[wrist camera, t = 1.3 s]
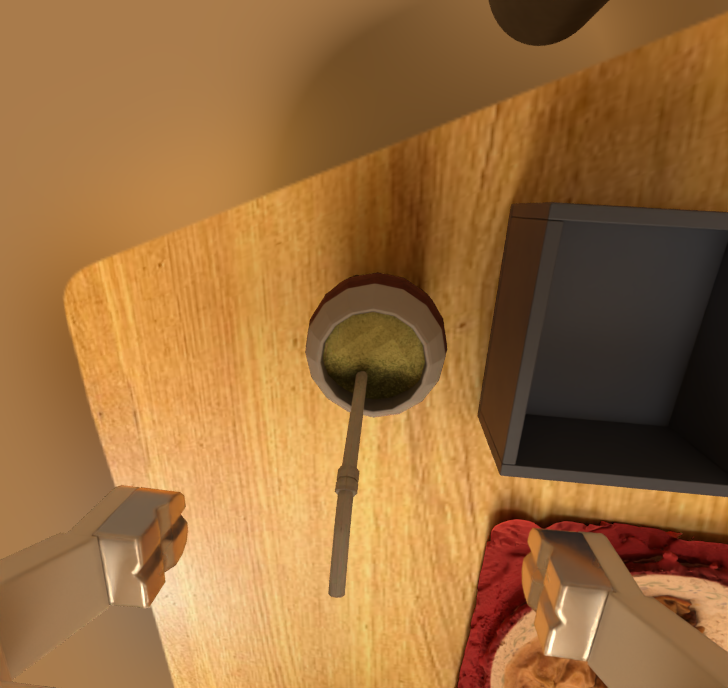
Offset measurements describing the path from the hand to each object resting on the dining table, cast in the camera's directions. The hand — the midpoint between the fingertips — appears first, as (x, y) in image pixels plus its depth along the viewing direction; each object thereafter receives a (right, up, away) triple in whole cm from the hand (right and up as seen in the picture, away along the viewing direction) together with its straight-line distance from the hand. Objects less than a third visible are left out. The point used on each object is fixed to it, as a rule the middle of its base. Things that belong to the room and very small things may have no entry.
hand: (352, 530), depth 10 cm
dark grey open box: (+14, +5, +15) cm, 22 cm away
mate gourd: (+1, +6, +17) cm, 18 cm away
